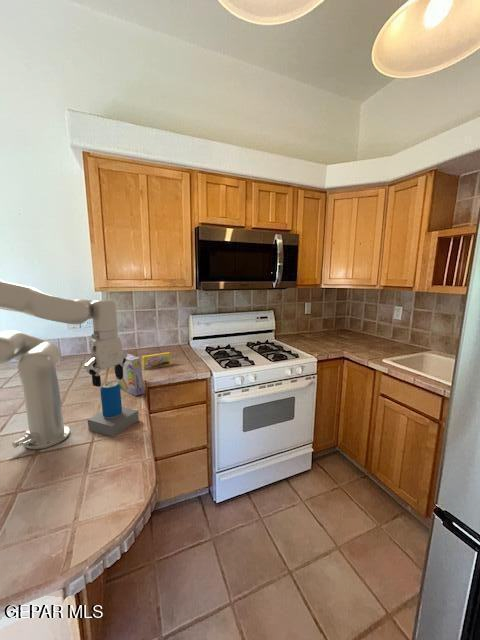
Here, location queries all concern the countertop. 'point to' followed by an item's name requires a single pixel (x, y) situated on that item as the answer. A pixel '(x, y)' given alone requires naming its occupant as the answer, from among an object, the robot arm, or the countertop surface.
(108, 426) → the block
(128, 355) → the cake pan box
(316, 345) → the countertop surface
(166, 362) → the candy box
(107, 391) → the beverage can
